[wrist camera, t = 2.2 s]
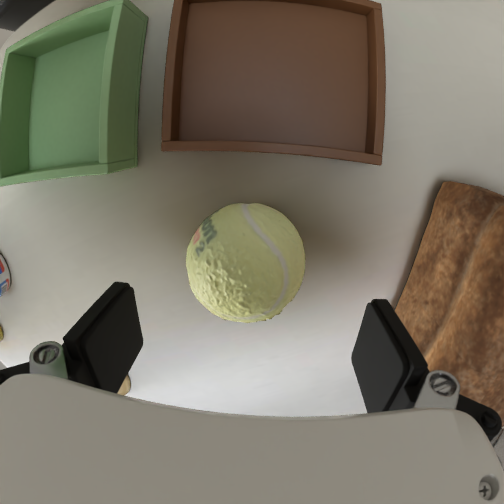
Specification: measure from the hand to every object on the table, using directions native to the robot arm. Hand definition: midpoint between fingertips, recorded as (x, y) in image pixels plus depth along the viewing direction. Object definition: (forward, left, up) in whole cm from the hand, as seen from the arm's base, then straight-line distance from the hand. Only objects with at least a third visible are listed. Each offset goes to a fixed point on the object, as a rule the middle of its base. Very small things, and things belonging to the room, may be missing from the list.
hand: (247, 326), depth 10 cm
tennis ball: (0, 0, -9) cm, 9 cm away
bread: (+3, +26, -9) cm, 28 cm away
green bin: (-11, -14, -9) cm, 19 cm away
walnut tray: (-12, +1, -9) cm, 15 cm away
